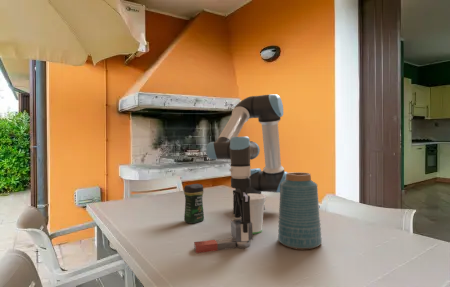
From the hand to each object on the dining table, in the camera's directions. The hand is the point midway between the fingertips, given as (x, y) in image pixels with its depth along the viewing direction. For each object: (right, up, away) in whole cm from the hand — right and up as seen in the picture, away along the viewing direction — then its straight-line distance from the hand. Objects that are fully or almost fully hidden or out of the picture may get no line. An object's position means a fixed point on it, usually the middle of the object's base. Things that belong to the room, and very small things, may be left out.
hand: (241, 237), depth 104 cm
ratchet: (-7, -3, -2) cm, 8 cm away
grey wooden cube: (0, 0, 0) cm, 0 cm away
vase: (+23, -3, +2) cm, 23 cm away
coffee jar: (-22, -3, +32) cm, 39 cm away
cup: (+6, -3, +16) cm, 18 cm away
